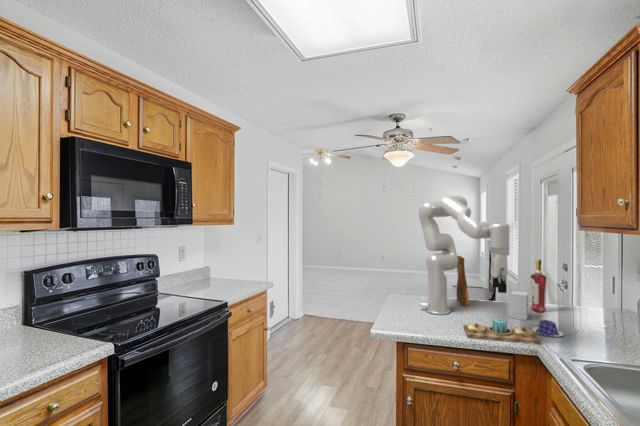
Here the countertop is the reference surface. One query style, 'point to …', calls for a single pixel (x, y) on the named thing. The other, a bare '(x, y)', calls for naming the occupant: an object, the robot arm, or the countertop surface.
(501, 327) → the loose gear
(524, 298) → the supplement box
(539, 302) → the liquor
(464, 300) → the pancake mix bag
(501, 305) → the countertop surface
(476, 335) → the gear board
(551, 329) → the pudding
